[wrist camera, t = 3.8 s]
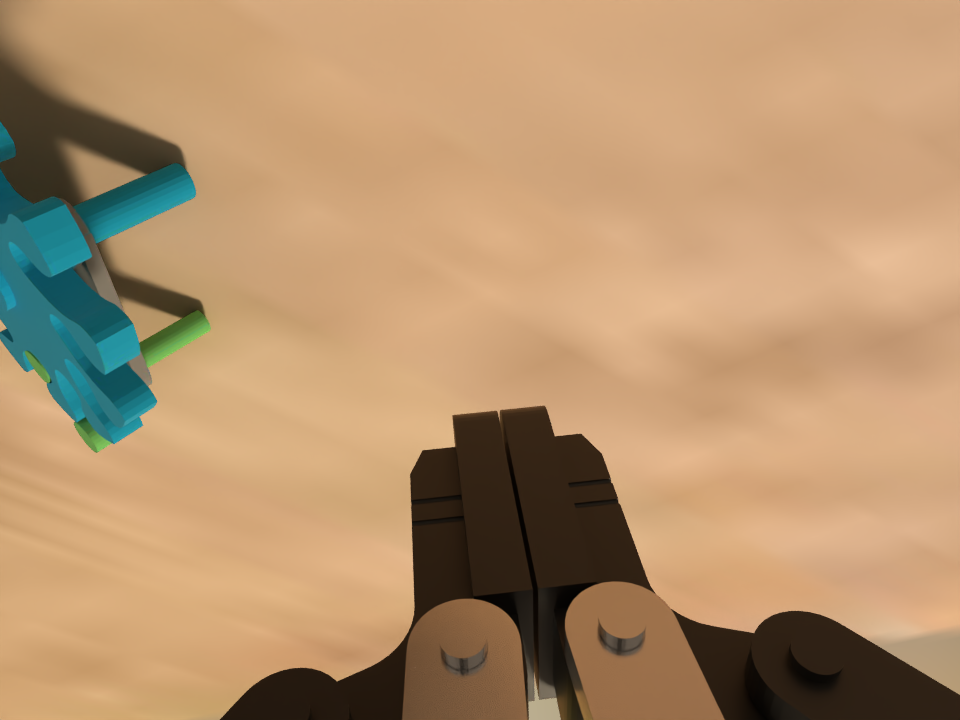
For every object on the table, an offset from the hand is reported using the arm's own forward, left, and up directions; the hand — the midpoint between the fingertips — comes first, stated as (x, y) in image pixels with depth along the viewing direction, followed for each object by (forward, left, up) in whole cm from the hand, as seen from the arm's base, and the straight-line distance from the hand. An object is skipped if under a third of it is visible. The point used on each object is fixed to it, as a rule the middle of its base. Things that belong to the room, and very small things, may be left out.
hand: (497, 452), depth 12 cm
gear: (0, -11, -12) cm, 16 cm away
